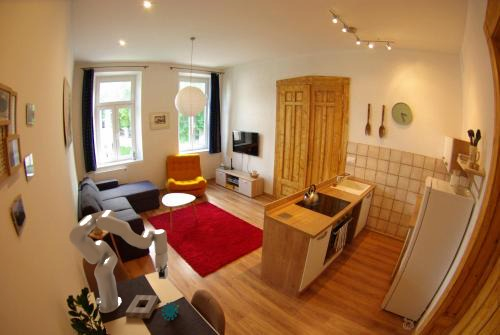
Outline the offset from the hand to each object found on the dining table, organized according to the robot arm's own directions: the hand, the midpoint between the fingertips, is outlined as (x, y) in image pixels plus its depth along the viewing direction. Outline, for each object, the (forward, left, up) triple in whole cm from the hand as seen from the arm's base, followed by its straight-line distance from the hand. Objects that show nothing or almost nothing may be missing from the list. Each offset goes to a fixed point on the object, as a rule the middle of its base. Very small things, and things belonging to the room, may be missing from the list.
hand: (163, 274), depth 163 cm
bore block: (-11, -10, -18) cm, 23 cm away
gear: (+9, -14, -18) cm, 25 cm away
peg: (0, 0, -2) cm, 2 cm away
